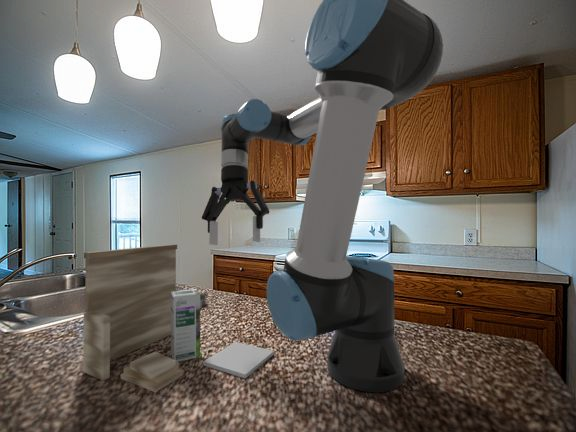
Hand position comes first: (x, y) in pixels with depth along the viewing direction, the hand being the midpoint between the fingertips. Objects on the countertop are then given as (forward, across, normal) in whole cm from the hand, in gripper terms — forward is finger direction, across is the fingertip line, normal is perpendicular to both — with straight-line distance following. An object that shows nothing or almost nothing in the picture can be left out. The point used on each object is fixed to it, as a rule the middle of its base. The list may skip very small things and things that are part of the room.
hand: (234, 243), depth 75 cm
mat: (+27, -6, +7) cm, 28 cm away
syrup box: (+26, +7, +10) cm, 29 cm away
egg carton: (+20, +32, -20) cm, 42 cm away
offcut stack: (+28, +7, +19) cm, 34 cm away
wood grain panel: (+25, +17, +12) cm, 33 cm away
